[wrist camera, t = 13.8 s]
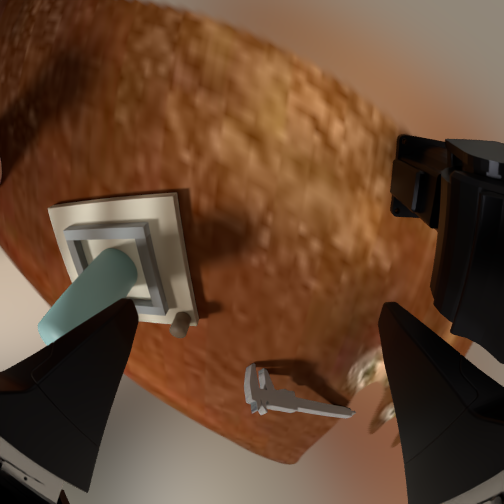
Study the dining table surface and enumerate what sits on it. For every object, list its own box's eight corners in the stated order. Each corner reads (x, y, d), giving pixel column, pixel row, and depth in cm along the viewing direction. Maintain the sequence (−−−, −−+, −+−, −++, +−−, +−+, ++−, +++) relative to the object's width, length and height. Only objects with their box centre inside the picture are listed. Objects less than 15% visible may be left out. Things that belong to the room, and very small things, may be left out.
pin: (130, 247, 23) (68, 325, 14) (142, 289, 25) (95, 370, 16) (92, 248, 23) (28, 316, 14) (106, 286, 25) (55, 358, 16)
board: (177, 192, 21) (163, 205, 18) (199, 319, 27) (192, 340, 25) (53, 205, 22) (35, 216, 20) (89, 308, 28) (77, 324, 26)
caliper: (246, 363, 31) (240, 409, 25) (252, 359, 30) (247, 406, 25) (350, 412, 36) (354, 447, 30) (356, 409, 35) (361, 444, 30)
